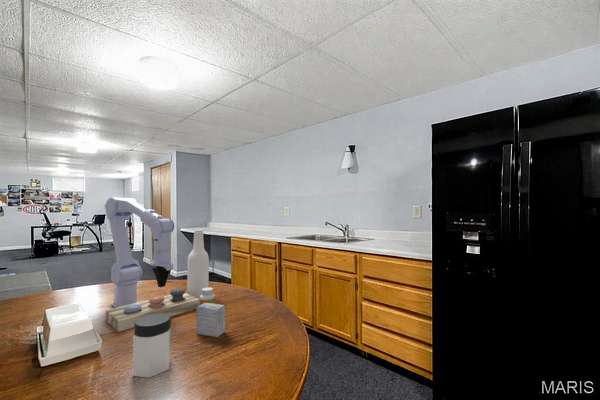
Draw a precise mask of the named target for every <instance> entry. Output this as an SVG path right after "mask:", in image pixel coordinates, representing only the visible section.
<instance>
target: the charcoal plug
mask: <svg viewBox="0 0 600 400" xmlns="http://www.w3.org/2000/svg"><path fill="white" fill-rule="evenodd" d="M184 293H186V289H184V288H174V289H171V290H170V294H169V295H172V301H173V302H178V301H182V300H183V294H184Z"/></svg>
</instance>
